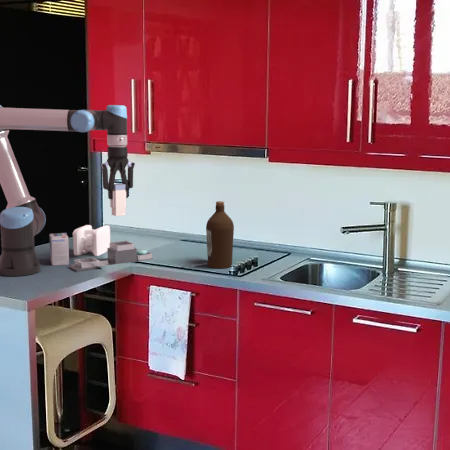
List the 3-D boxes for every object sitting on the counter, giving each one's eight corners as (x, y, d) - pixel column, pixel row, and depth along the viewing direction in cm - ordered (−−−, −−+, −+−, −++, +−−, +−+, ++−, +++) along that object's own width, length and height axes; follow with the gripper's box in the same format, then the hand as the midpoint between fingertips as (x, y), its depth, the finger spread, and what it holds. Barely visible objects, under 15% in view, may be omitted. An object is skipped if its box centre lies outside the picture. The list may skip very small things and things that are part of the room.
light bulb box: (50, 259, 278) (48, 233, 276) (67, 258, 280) (66, 232, 278) (52, 265, 268) (51, 238, 266) (69, 264, 270) (68, 237, 268)
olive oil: (231, 262, 274) (231, 199, 270) (235, 268, 264) (235, 203, 259) (204, 263, 273) (204, 200, 268) (207, 269, 262) (207, 204, 258)
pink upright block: (115, 216, 266) (115, 185, 264) (110, 214, 270) (109, 183, 268) (125, 215, 268) (125, 184, 266) (120, 213, 272) (119, 183, 270)
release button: (139, 255, 273) (139, 252, 273) (134, 253, 277) (134, 250, 277) (149, 254, 276) (149, 250, 275) (144, 252, 279) (144, 248, 279)
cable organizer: (96, 259, 279) (95, 231, 277) (72, 258, 281) (71, 229, 279) (111, 251, 293) (110, 224, 291) (88, 250, 296) (87, 223, 294)
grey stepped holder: (77, 271, 258) (76, 250, 257) (69, 267, 265) (69, 247, 263) (154, 261, 275) (153, 241, 274) (145, 257, 282) (145, 238, 280)
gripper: (100, 147, 256) (101, 210, 260) (142, 146, 265) (142, 206, 269) (92, 146, 262) (93, 207, 266) (133, 145, 271) (134, 204, 276)
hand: (118, 207), depth 268 cm, fingers closed on pink upright block, 4 cm apart
